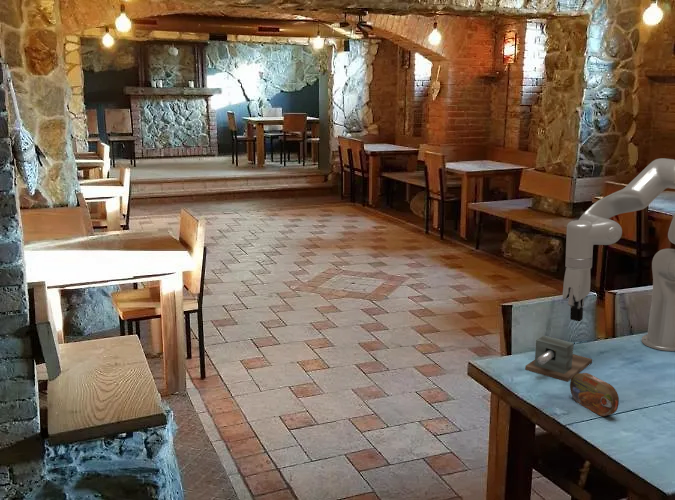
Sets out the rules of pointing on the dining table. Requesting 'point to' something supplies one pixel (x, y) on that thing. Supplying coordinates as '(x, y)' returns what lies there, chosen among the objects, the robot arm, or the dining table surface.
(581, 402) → the tin
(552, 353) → the shaft
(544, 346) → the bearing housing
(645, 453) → the dining table surface
